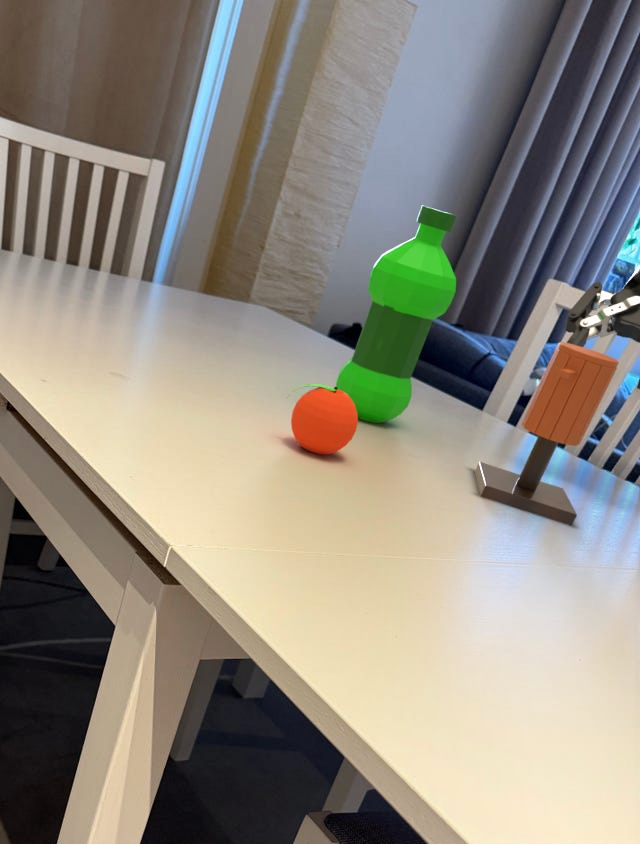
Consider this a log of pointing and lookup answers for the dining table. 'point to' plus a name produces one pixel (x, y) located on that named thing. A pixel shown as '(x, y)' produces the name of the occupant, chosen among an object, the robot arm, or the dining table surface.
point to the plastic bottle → (399, 319)
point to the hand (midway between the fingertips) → (604, 371)
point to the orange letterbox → (569, 393)
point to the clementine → (324, 419)
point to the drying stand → (527, 485)
